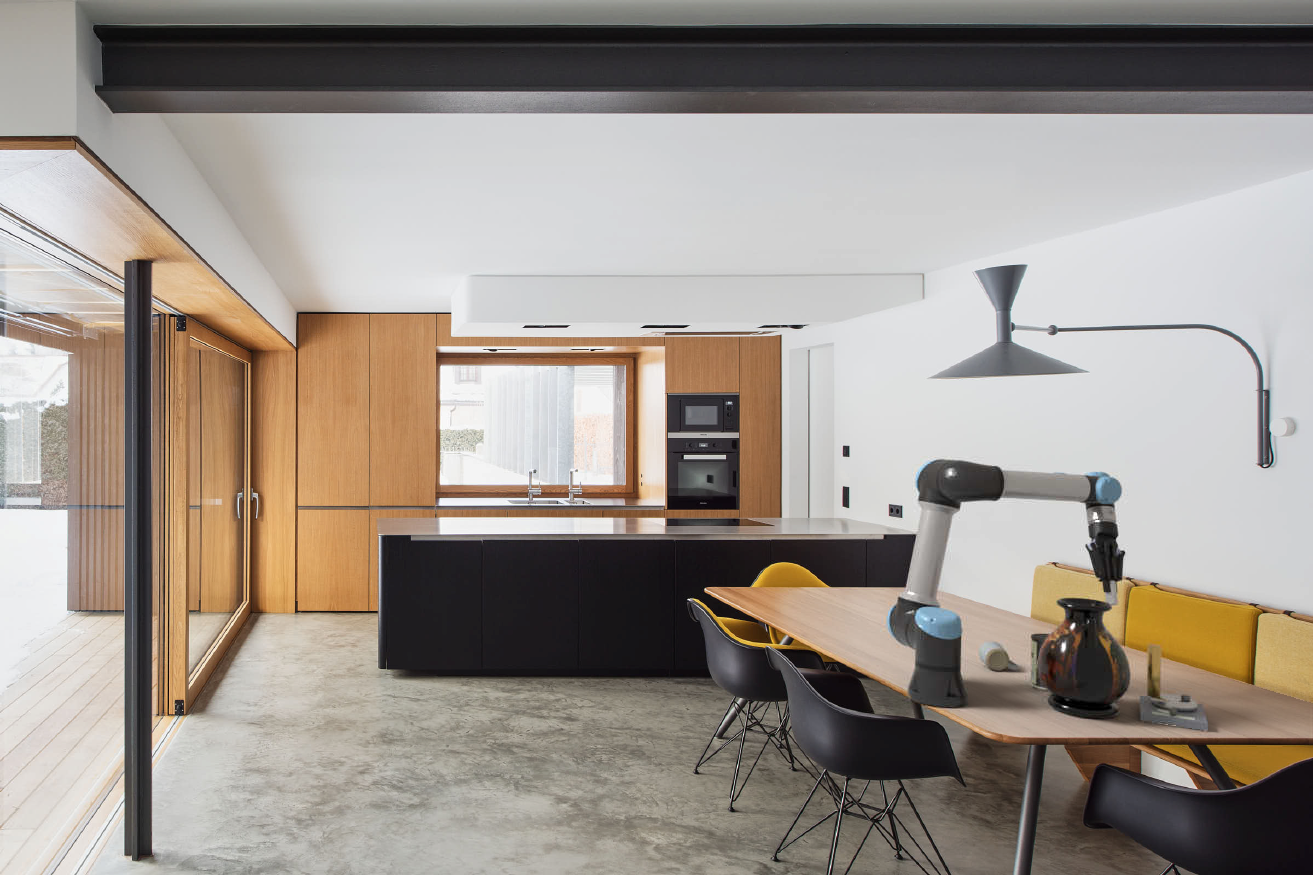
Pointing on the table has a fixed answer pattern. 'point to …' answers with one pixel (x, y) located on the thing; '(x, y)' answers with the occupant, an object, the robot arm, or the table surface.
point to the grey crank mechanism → (1172, 715)
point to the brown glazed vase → (1083, 662)
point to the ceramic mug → (995, 656)
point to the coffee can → (1036, 659)
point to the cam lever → (1154, 684)
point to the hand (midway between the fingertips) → (1112, 604)
